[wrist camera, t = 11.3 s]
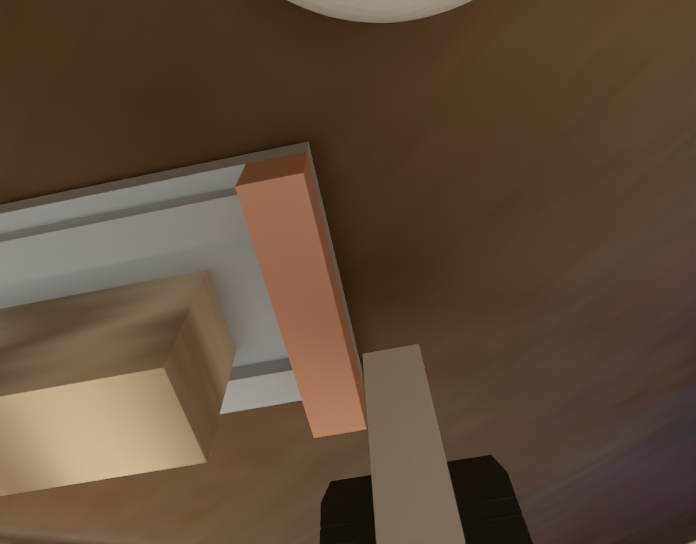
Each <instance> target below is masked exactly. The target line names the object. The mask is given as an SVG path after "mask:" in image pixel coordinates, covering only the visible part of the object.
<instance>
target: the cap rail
mask: <svg viewBox="0 0 696 544" xmlns="http://www.w3.org/2000/svg"><path fill="white" fill-rule="evenodd" d="M203 270H207V272H208V275H209V277H210V280H211V283H212V286H213V288H214V291H215V294H216V296H217V299H218V302H219V305H220V307H221V310H222V313H223V316H224V318H225V321H226V324H227V326H228V329H229V332H230V335H231V337H232V340H233V343H234V346H235V348H236V354H235V357H234V361H233V365H232V369H231V373H230V376H229V380H228V384H227V388H226V391H225V395H224V399H223V403H222V407H221V410H220V414H224V413H230V412H236V411H242V410H247V409H253V408H259V407H265V406H271V405H277V404H283V403H289V402H295V401H300V400H302V402H303V405H304V408H305V411H306V415H307V418H308V421H309V424H310V427H311V431H312V434H313V437H314V438H317V437H323V436H329V435H336V434H342V433H348V432H354V431H360V430H366V429H367V427H366V414H365V400H364V387H363V373H362V367H361V363H360V359H359V355H358V350H357V346H356V342H355V338H354V333H353V329H352V325H351V321H350V316H349V312H348V308H347V304H346V299H345V295H344V291H343V287H342V282H341V278H340V274H339V270H338V265H337V261H336V257H335V253H334V248H333V244H332V240H331V236H330V231H329V227H328V223H327V219H326V214H325V210H324V206H323V202H322V197H321V193H320V189H319V185H318V180H317V176H316V172H315V168H314V163H313V159H312V155H311V150H310V146H309V142H303V143H298V144H294V145H289V146H284V147H279V148H274V149H269V150H264V151H259V152H255V153H250V154H245V155H240V156H235V157H230V158H225V159H220V160H216V161H211V162H206V163H201V164H196V165H191V166H186V167H181V168H177V169H172V170H167V171H162V172H157V173H152V174H147V175H142V176H138V177H133V178H128V179H123V180H118V181H113V182H108V183H103V184H99V185H94V186H89V187H84V188H79V189H74V190H69V191H64V192H60V193H55V194H50V195H45V196H40V197H35V198H30V199H25V200H21V201H16V202H11V203H6V204H1V205H0V309H2V308H8V307H13V306H18V305H24V304H29V303H34V302H39V301H45V300H50V299H55V298H61V297H66V296H71V295H76V294H82V293H87V292H92V291H98V290H103V289H108V288H113V287H119V286H124V285H129V284H134V283H140V282H145V281H150V280H156V279H161V278H166V277H171V276H177V275H182V274H187V273H193V272H198V271H203Z"/></svg>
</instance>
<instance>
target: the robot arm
mask: <svg viewBox="0 0 696 544" xmlns="http://www.w3.org/2000/svg"><path fill="white" fill-rule="evenodd" d="M363 367H364V381H365V395H366V408H367V422H368V436H369V450H370V463H371V475H369V476H362V477H356V478H349V479H343V480H337V481H331V482H330V484H329V487H328V489H327V491H326V493H325V495H324V497H323V500H322V502H321V521H320V526H321V530H320V544H533V543H532V540H531V537H530V534H529V532H528V529H527V526H526V523H525V520H524V518H523V516H522V512H521V509H520V506H519V504H518V501H517V499H516V496H515V492H514V490H513V487H512V484H511V481H510V478H509V476H508V473H507V472H506V470H505V469H504V468H503V467H502V466H501V465H500V464H499V463H498V462H497V461H496V460H495V459H494V458H493V457H492V456H491V455H487V456H481V457H474V458H468V459H461V460H455V461H449V462H446V457H445V453H444V449H443V445H442V440H441V436H440V432H439V428H438V423H437V419H436V415H435V411H434V406H433V402H432V398H431V394H430V389H429V385H428V381H427V377H426V372H425V368H424V364H423V360H422V355H421V351H420V347H419V344H416V345H410V346H404V347H399V348H393V349H387V350H381V351H376V352H370V353H364V354H363Z"/></svg>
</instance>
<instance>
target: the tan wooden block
mask: <svg viewBox="0 0 696 544" xmlns="http://www.w3.org/2000/svg"><path fill="white" fill-rule="evenodd" d="M235 354H236V348H235V346H234V343H233V340H232V337H231V335H230V332H229V329H228V326H227V324H226V321H225V318H224V316H223V313H222V310H221V307H220V305H219V302H218V299H217V296H216V294H215V291H214V288H213V286H212V283H211V280H210V277H209V275H208V272H207V270H203V271H198V272H193V273H187V274H182V275H177V276H171V277H166V278H161V279H156V280H150V281H145V282H140V283H134V284H129V285H124V286H119V287H113V288H108V289H103V290H98V291H92V292H87V293H82V294H76V295H71V296H66V297H61V298H55V299H50V300H45V301H39V302H34V303H29V304H24V305H18V306H13V307H8V308H2V309H0V496H4V495H10V494H16V493H22V492H28V491H34V490H40V489H47V488H53V487H59V486H65V485H71V484H77V483H83V482H90V481H96V480H102V479H108V478H114V477H120V476H126V475H133V474H139V473H145V472H151V471H157V470H163V469H169V468H176V467H182V466H188V465H194V464H200V463H206V462H207V460H208V456H209V452H210V448H211V444H212V441H213V437H214V433H215V429H216V426H217V422H218V418H219V414H220V410H221V407H222V403H223V399H224V395H225V391H226V388H227V384H228V380H229V376H230V373H231V369H232V365H233V361H234V357H235Z"/></svg>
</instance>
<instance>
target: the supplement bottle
mask: <svg viewBox="0 0 696 544" xmlns="http://www.w3.org/2000/svg"><path fill="white" fill-rule="evenodd" d="M287 1H289V2H292V3H294V4H296V5H298V6H300V7H303V8H305V9H308V10H311V11H313V12H316V13H319V14H322V15H325V16H329V17H334V18H338V19H344V20H349V21H355V22H369V23H394V22H402V21H410V20H415V19H421V18H425V17H429V16H432V15H436V14H439V13H442V12H446V11H449V10H451V9H454V8H456V7H459V6H461V5H464V4H466V3H468V2H470V1H472V0H287Z"/></svg>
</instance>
